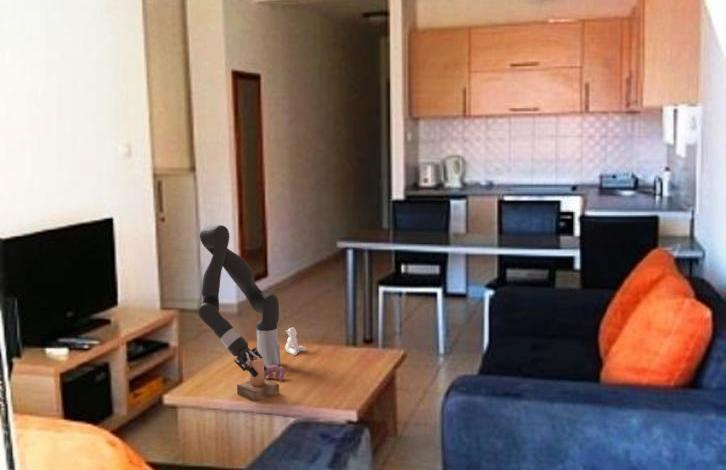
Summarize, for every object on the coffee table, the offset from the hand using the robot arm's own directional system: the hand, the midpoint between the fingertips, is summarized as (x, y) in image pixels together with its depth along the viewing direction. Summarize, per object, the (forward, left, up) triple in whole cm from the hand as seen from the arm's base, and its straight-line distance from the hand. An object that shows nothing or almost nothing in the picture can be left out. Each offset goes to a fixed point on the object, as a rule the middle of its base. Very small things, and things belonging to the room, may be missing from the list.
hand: (260, 373), depth 301 cm
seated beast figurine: (-38, -45, -9) cm, 60 cm away
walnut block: (+1, -1, -9) cm, 9 cm away
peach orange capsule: (+1, -1, -5) cm, 5 cm away
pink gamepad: (-12, -15, -9) cm, 21 cm away
